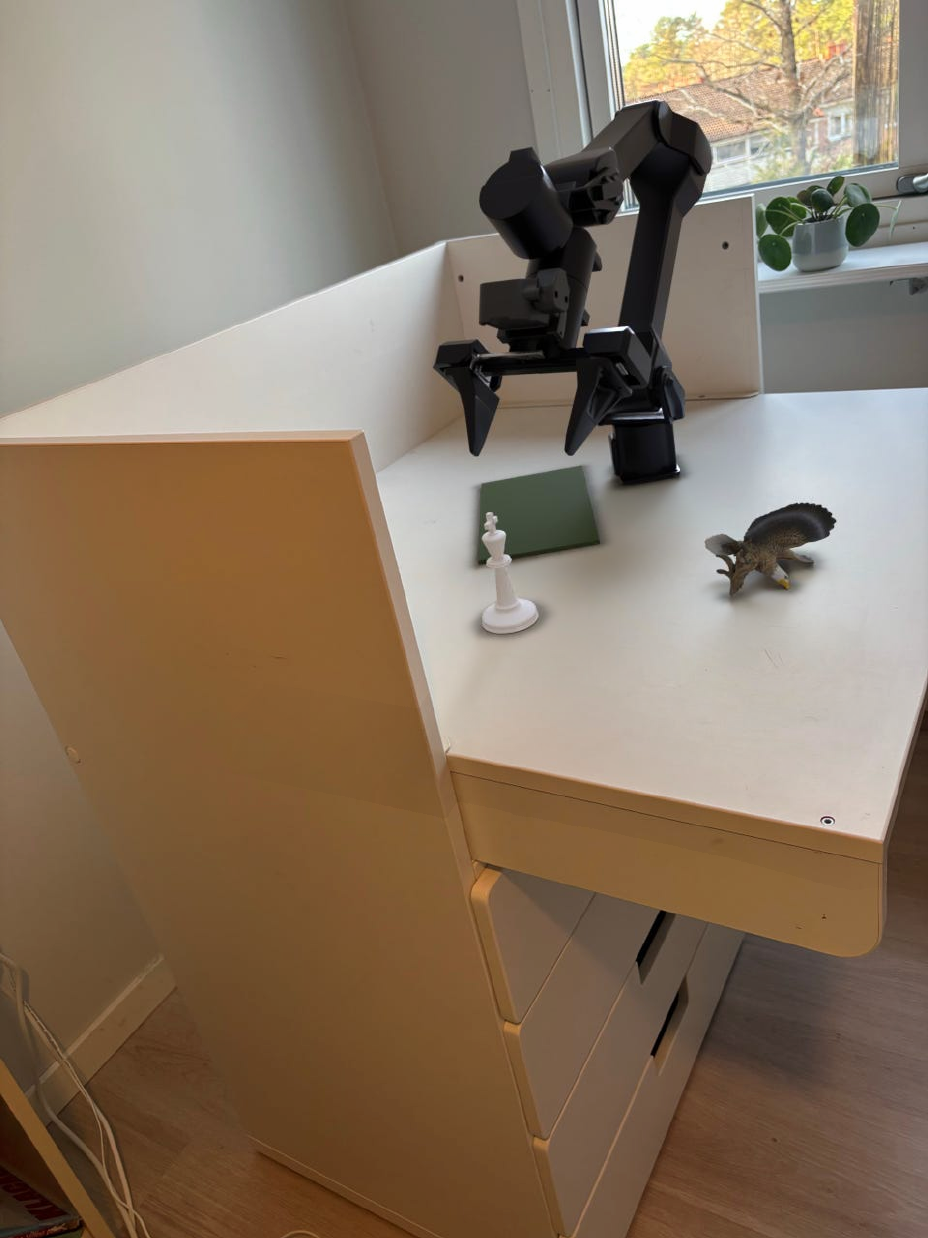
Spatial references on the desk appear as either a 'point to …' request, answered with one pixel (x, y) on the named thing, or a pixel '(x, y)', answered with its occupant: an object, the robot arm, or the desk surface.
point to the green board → (539, 513)
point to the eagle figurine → (772, 542)
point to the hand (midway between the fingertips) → (519, 454)
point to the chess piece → (504, 588)
